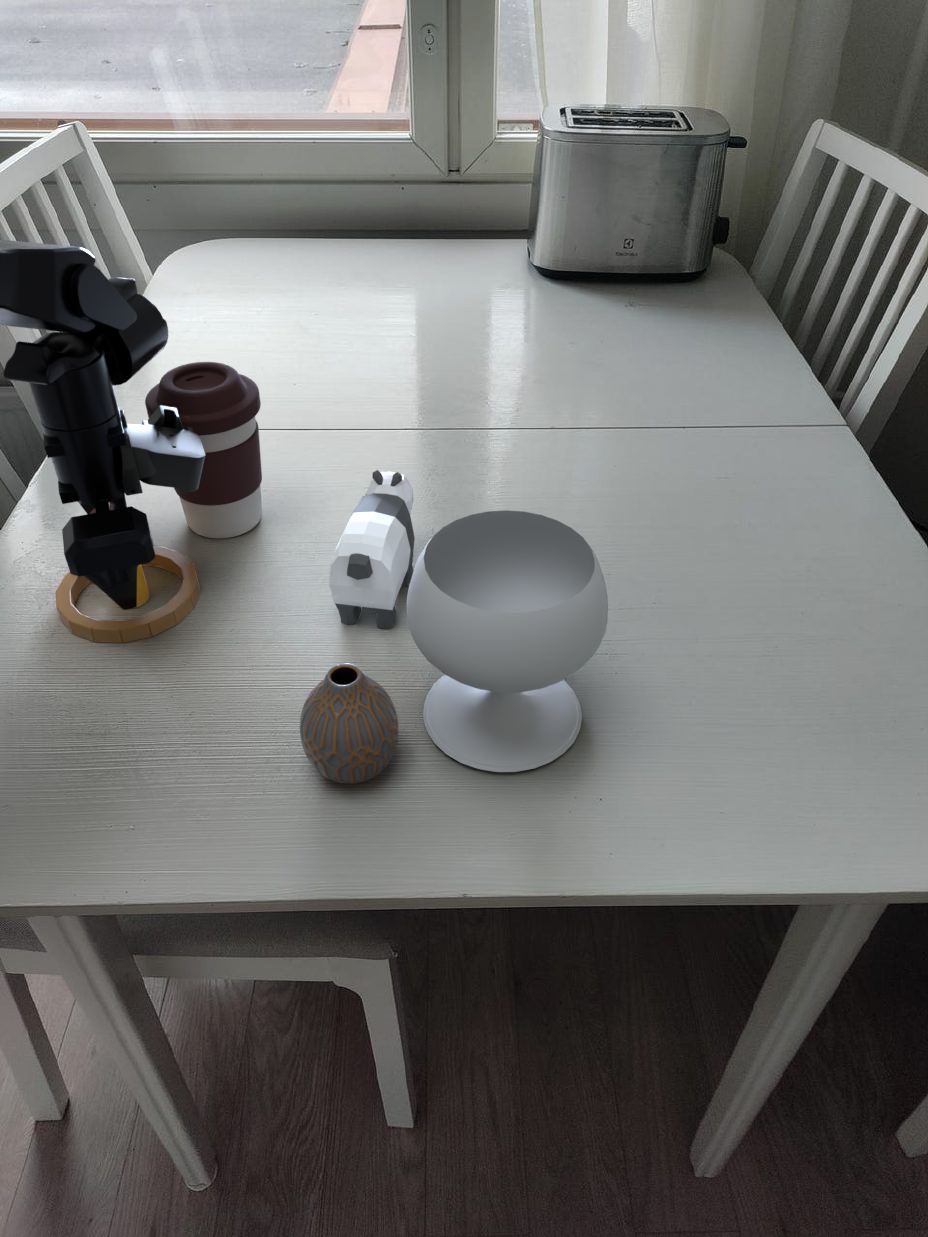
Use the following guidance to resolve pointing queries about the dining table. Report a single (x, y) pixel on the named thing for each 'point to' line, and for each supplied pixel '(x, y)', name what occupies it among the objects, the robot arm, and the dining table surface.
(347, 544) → the giant panda
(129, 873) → the dining table surface
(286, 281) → the dining table surface
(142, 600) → the pencil stub
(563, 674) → the chalice
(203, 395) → the coffee cup
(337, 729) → the vase
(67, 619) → the wooden ring
